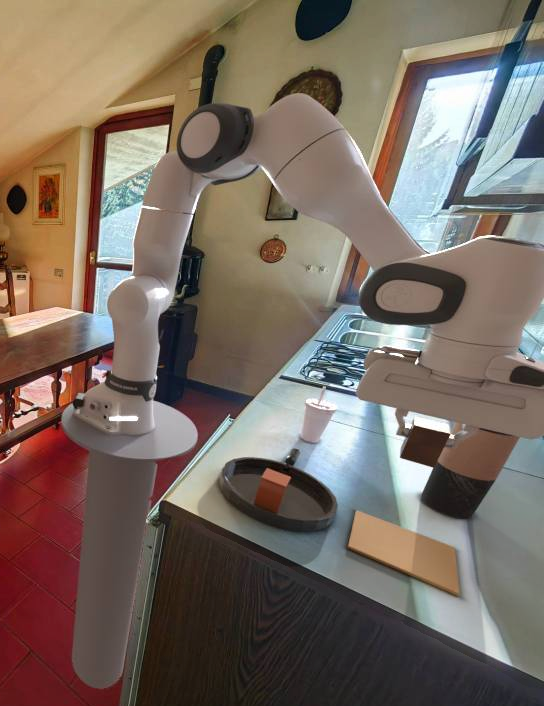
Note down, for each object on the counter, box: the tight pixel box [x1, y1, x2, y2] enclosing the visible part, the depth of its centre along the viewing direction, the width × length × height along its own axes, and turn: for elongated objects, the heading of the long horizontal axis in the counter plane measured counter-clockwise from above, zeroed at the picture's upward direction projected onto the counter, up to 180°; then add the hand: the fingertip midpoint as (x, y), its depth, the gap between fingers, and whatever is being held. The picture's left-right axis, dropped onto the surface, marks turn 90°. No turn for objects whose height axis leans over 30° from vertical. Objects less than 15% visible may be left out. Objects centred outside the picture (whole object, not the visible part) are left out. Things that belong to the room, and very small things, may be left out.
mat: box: [347, 509, 460, 597], centre depth 64 cm, size 13×12×1 cm
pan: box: [218, 456, 339, 533], centre depth 76 cm, size 19×19×2 cm
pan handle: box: [283, 447, 301, 471], centre depth 85 cm, size 2×10×2 cm, turn 137°
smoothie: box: [300, 386, 338, 444], centre depth 94 cm, size 6×6×14 cm
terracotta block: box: [254, 468, 291, 513], centre depth 72 cm, size 4×4×6 cm
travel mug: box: [420, 422, 521, 519], centre depth 71 cm, size 8×8×20 cm
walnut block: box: [399, 416, 451, 469], centre depth 61 cm, size 4×4×6 cm
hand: (424, 441), depth 61 cm, fingers closed on walnut block, 4 cm apart
